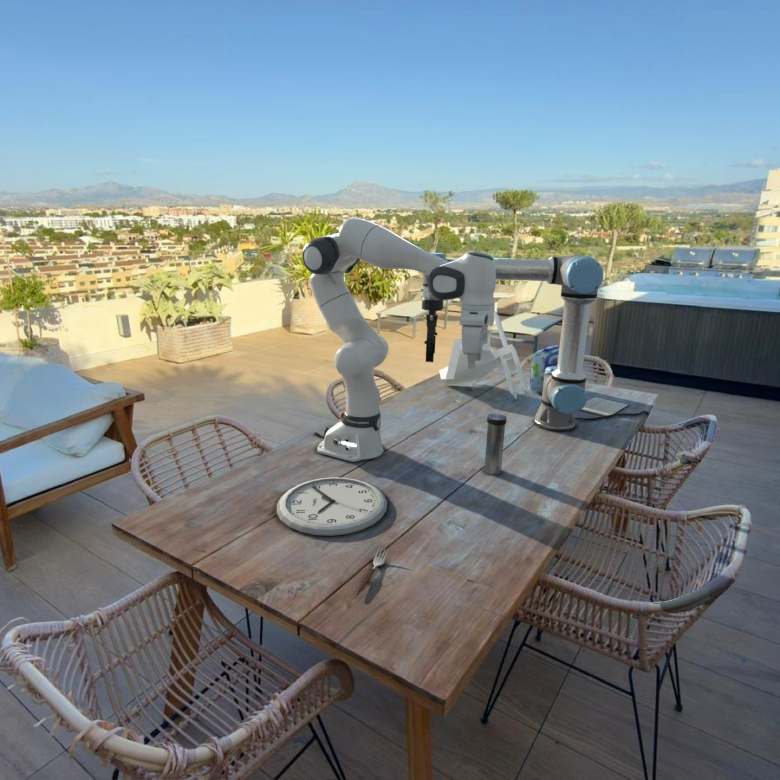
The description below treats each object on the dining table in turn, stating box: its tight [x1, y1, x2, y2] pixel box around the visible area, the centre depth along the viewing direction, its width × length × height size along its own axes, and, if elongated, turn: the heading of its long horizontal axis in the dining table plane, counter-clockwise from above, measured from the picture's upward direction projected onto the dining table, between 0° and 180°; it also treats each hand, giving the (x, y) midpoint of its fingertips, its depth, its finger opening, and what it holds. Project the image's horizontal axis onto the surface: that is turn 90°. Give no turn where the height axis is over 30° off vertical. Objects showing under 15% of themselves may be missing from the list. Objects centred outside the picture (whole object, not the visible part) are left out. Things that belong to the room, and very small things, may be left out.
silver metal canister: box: [483, 422, 506, 476], centre depth 162 cm, size 5×5×18 cm
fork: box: [356, 545, 389, 596], centre depth 114 cm, size 3×16×2 cm, turn 160°
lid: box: [486, 413, 508, 426], centre depth 160 cm, size 6×6×2 cm
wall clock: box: [276, 476, 388, 537], centre depth 142 cm, size 30×2×30 cm
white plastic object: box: [438, 310, 531, 400], centre depth 245 cm, size 37×45×31 cm
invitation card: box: [580, 396, 629, 416], centre depth 226 cm, size 21×1×15 cm
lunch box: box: [529, 345, 560, 394], centre depth 245 cm, size 26×11×21 cm, turn 134°
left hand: (474, 364), depth 145 cm, fingers open, 8 cm apart
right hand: (430, 357), depth 190 cm, fingers open, 13 cm apart
